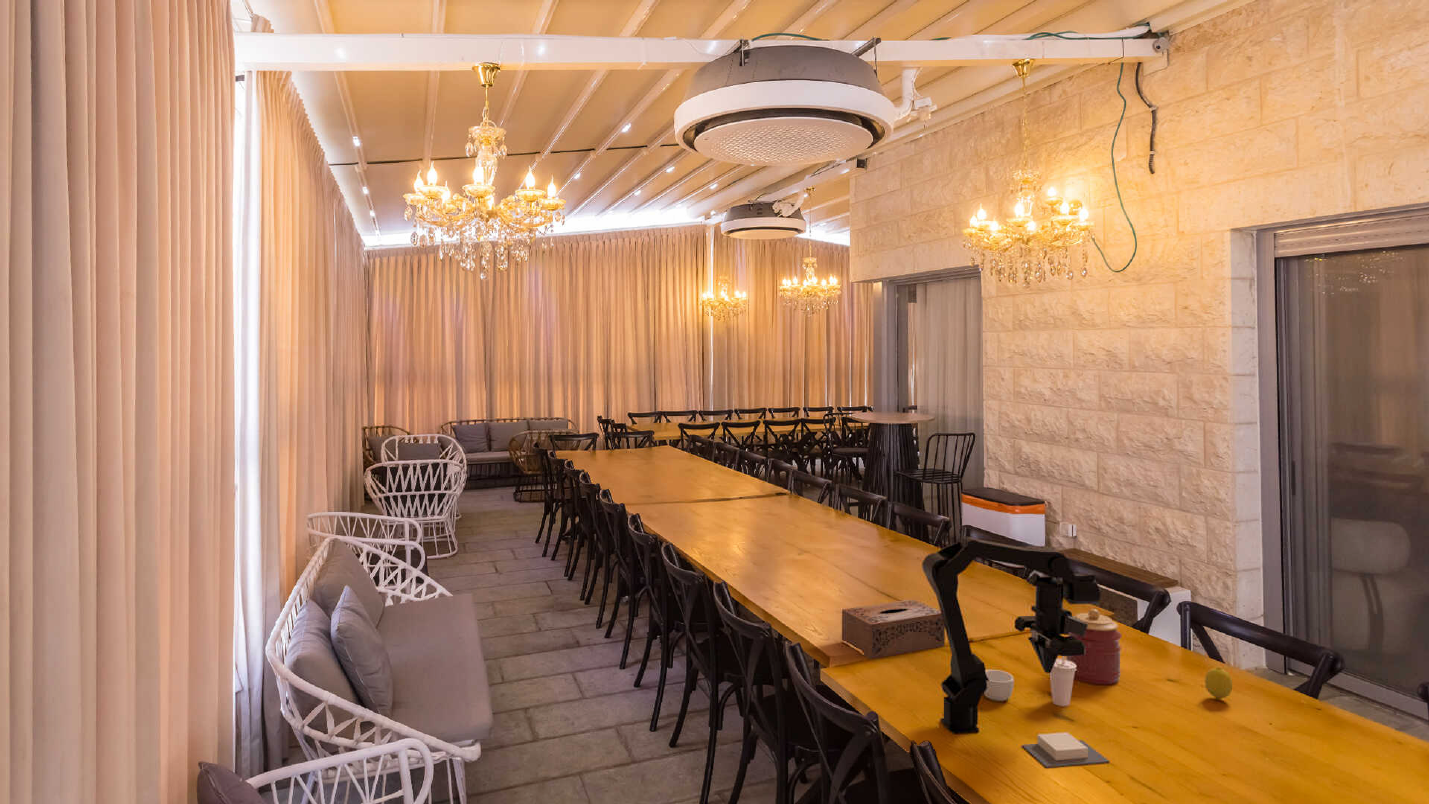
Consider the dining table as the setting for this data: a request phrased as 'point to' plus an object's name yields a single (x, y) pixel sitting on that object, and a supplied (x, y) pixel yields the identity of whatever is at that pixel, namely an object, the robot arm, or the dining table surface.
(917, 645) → the tissue box cover
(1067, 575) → the robot arm
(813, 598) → the dining table surface
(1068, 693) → the smoothie
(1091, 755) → the mat
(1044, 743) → the block
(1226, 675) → the lemon
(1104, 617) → the canister
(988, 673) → the teacup
